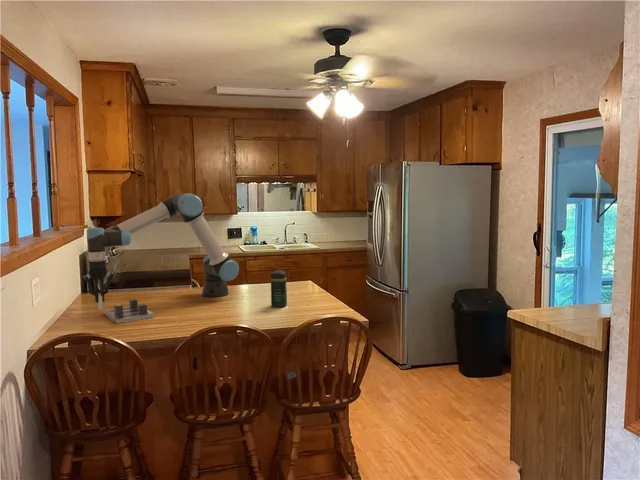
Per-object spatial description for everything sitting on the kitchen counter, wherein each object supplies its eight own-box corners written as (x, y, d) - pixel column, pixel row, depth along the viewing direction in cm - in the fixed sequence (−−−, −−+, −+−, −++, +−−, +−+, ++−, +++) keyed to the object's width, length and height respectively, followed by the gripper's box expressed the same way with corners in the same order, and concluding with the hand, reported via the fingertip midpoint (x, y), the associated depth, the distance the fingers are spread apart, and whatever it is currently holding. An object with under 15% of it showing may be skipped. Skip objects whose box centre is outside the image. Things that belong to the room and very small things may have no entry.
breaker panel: (103, 314, 258) (102, 302, 258) (139, 308, 269) (138, 297, 268) (116, 324, 239) (115, 311, 238) (154, 317, 250) (153, 305, 249)
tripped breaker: (114, 312, 252) (114, 304, 251) (120, 311, 254) (120, 303, 253) (116, 314, 249) (116, 306, 248) (123, 313, 250) (122, 305, 250)
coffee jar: (285, 308, 262) (284, 272, 259) (270, 308, 262) (268, 272, 260) (288, 303, 271) (287, 269, 269) (273, 303, 272) (272, 269, 270)
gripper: (84, 262, 236) (87, 312, 239) (113, 259, 244) (116, 308, 247) (80, 260, 242) (84, 309, 245) (109, 258, 250) (112, 305, 253)
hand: (100, 308), depth 246 cm, fingers closed
